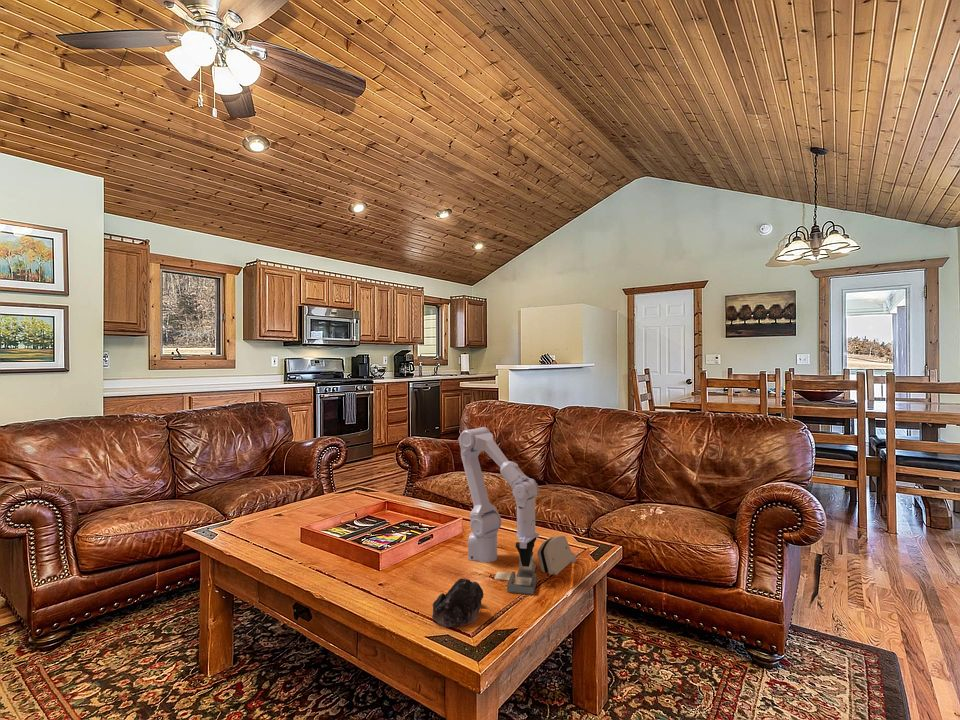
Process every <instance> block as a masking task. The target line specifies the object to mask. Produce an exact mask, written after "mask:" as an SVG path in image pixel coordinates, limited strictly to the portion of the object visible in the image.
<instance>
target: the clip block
mask: <svg viewBox="0 0 960 720" xmlns="http://www.w3.org/2000/svg"><path fill="white" fill-rule="evenodd" d="M534 556H535V555H534V551H532V552H531V558H530V564H529V567H526V566H522V564H521V559H520V555H519V556H518V561H519V562H518V570H519V569H524V570H532V569H533V565H534V564H535V563H534V561H535V560H534V559H535V558H534Z"/></svg>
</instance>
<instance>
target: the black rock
mask: <svg viewBox="0 0 960 720" xmlns="http://www.w3.org/2000/svg"><path fill="white" fill-rule="evenodd" d="M483 598H484V591H483V588H482V586H481V585H480V584H479V582H477V581H473V582H472V581H471V580H470V579H468V578H459V579H458V580H457V581H455V582H454V584H453V585H452V586H451V587H450V589H448V591H447V592H446V593H443V592H442V593H440V594H439V595H438V596H437V598H436V599H435V600H434V602H433V604H432V616H431V617H432V618H431V619H432V620H433V621H435V622H436V623H437V624H438V625H440V626H442V627H445V628H458V627H463V626H468V625H469V624H470V623H475V622H476V621H477V619H478V617H479V613H480V611H481V607H482V600H483Z"/></svg>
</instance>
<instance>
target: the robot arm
mask: <svg viewBox="0 0 960 720" xmlns="http://www.w3.org/2000/svg"><path fill="white" fill-rule="evenodd" d="M457 440H458V444H459V447H460V458H461V462H462V464H463V469H464V473H465V477H466V481H467V484H468V485H467V486H468V489H469V492H470V493H469V494H470V497H471V500H472V504H473V508H472V509H471V512H470V513H469V518H470V523H469V524H470V531H471V532H470V533H469V536H468V540H467V541H468V542H467V548H468V550H467V555H468V556H467V560H468V561H474V562H480V563H493V562H495V561H496V560H497V559H498V533H499V529H500V528H501V527H502V524H503V523H502V522H503V521H502V518H501V515H500V514H499V513H498V509H497V506H495V505H494V504H493V503H492V502H490V498H489V495H488V491H487V487H486V484H485V480H484V475H483V472H482V468H481V464H480V461H479V455H480V454H481V452H484V453H486V454H487V455H488V456H489V457H490V459H492V460H493V462H495V464H496V465H497V466H498V468H500V469H499V470H500V475H501V476H502V477H503V479H504V480H505V481H506V482H507V483H508V485H509V486H510V487H511V489H512V496H513V497H514V500H515V505H516V533H515V534H516V538H517V540H518V541H515V549H516V550H517V551H518V554H519V555H520V559H521V564H522V566H526V567H529V564H530V558H531V552H534V551H533V550H534V547H535V543H536V541H537V538H540V533H539V532H536V497H537V496H538V494H539V490H540V489H539V485H538V483H537V482H536V480H535V479H534V478H530V477H529V476H527V475H526V474H525V473H524V472H523V471H522V469H521V468H520V467H519V464H518V463H517V462H515V461H510V460H509V459H508V458H507V457H506V456H505V454H504V453H503V451H502V449H501V448H500V447H499V446H498V444H497V442H496V441H495V440H494V434H493V433H492V432H491V431H490V430H489V428H488V427H486V426H482V427H477V428H472V429H463V431H461V433H460V435H459V437H458V438H457Z"/></svg>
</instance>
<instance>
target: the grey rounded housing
mask: <svg viewBox="0 0 960 720" xmlns="http://www.w3.org/2000/svg"><path fill="white" fill-rule="evenodd" d="M537 558H538V562H539V566H540V570H541V572H543V573H547V574H549V575H555V576H557V575H558V574H560V573H561V572H562V571H563V569H564V568H566V567H567V566H568V565H569V564H570V563H571V565H573V564H574V563H576V562H577V560H578V559H577V555H576V553H574V552H572V549H571V547H570V545H569V542H568V539H567V538H566V536H564V535H556V536H552V537H548V538H547V539H545V540H544V541H543V542H542V543H541V544H540V546H539V548H538V550H537Z"/></svg>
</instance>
